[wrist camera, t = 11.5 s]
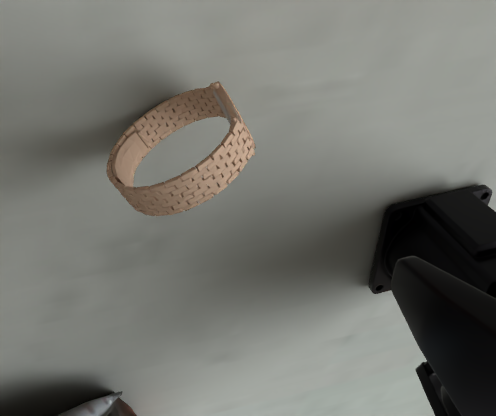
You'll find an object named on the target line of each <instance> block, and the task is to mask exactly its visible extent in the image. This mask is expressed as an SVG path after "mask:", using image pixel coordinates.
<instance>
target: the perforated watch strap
mask: <svg viewBox="0 0 496 416" xmlns="http://www.w3.org/2000/svg"><path fill="white" fill-rule="evenodd" d="M168 102H169V103H170V104H169V103H168ZM164 108H165V109H164ZM156 109H157V110H156ZM173 109H174V110H175V111H174V110H173ZM165 110H166V111H165ZM218 115H219V116H220V117H224V118H227V120H228V121H229V123H230V129H229V133H227V135H226V136H225V138H224V139H223V140H222V142H221V145H220V144H219V145H218V147H217V148H216V149H215V150H214V151H213V152H212V153H211V154H210V155H209V156H208V157H206V158H205V159H204V160H202V161H201V162H200V163H199V164H197V165H196V166H195V167H196V168H197V169H196V168H195V167H192V168H191V169H189V170H187V171H186V172H184V173H182V174H181V177H180V175H179V176H177V177H174V178H172V179H170V180H167V181H165V183H164V182H162V183H159V184H155V185H152V186H144V187H137V188H136V187H133V181H134V174H135V171H136V168H137V167H138V165H139V164H140V162H141V161H142V158H144V157H145V156H146V155H147V154H148V152H149V151H150V150H151V149H152V148H153V147H155V146H156V145H157V144H158V143H159V142H160V139H161V140H163V139H164V138H166V137H167V136H168V135H170V134H171V133H173V132H175V131H176V130H178V129H180V128H182V127H183V125H184V126H186V125H188V124H190V123H193V122H195V120H196V121H198V120H201V119H204V118H207V117H208V118H209V117H217V116H218ZM152 116H153V117H152ZM169 116H170V117H171V118H170V117H169ZM144 117H145V118H146V119H145V118H144ZM178 117H179V118H178ZM165 123H166V124H167V125H166V124H165ZM174 123H175V125H174ZM149 124H150V125H151V126H150V125H149ZM133 125H134V126H133ZM133 125H131V126H130V127H129V128H128V129H127V130H126V131H125V132H124V133H123V135H121V137H120V138H119V140H118V141H117V143H116V144H115V146H114V147H113V149H112V151H111V153H110V156H109V160H108V163H107V176H108V178H109V180H111V182H112V183H113V185H114V186H115V187H116V188H117V189H118V190H119V191H120V193H121V194H122V196H123V197H124V198H126V200H127V201H128V202H129V204H130V205H132V206H133V207H134V208H135V210H137V211H139V212H142V213H144V214H146V215H151V216H155V215H156V216H163V215H172V214H176V213H180V212H183V210H185V211H187V210H189V209H191V208H193V207H195V206H197V205H199V204H201V203H203V202H205V201H207V200H209V199H211V198H213V194H215V195H217V194H218V193H219V192H221V191H222V190H223V189H225V188H226V187H227V184H226V183H228V184H230V183H231V182H232V181H233V180H234V179H235V178H236V177H237V176H238V175H239V173H238V172H241V171H242V169H243V168H244V166H245V165H246V163H247V162H248V161H247V160H249V159H250V157H251V156H254V155H255V153H254V148H256V147H255V143H254V141H253V138H252V136H251V134H250V132H249V130H248V129H247V127H246V125H245V123H244V121H243V119H242V117H241V116H240V114H239V112H238V110H237V109H236V107H235V105H234V103H233V102H232V100H231V98H230V97H229V95H228V93H227V92H226V90H225V89H224V87H223V86H222V85H221V84H220V82H219V81H218V82H215V83H212V84H210V86H209V87H206V88H200V89H195V90H191V91H187V92H184V93H182V94H181V95H179V94H178V95H176V96H174V97H172V98H170V99H168V101H167V100H166V101H164V102H162V103H161V104H159V105H157V106H156V108H155V107H154V108H153V109H151V110H150V111H148V112H147V113H146V114H144V116H142V117H140V118H139V119H138V120H137V121H135V122H134V123H133ZM170 130H171V131H172V132H171V131H170ZM154 131H155V132H156V133H155V132H154ZM146 132H147V133H148V134H147V133H146ZM159 138H160V139H159ZM151 139H152V140H153V141H152V140H151ZM150 148H151V149H150ZM206 166H207V168H206ZM211 175H212V176H213V177H212V176H211ZM221 175H222V176H221ZM201 176H203V178H202V177H201ZM207 184H208V186H207ZM217 184H218V185H217ZM186 185H187V186H188V187H187V186H186ZM197 185H198V186H197ZM192 193H193V194H194V195H193V194H192ZM203 193H204V195H203ZM198 202H199V203H198Z"/></svg>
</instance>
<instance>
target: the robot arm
mask: <svg viewBox="0 0 496 416" xmlns="http://www.w3.org/2000/svg"><path fill="white" fill-rule="evenodd" d="M491 196H492V190H491V189H490V188H489V187H487V186H486V185H479V186H475V187H470V188H466V189H461V190H457V191H452V192H447V193H443V194H438V195H434V196H429V197H425V198H420V199H415V200H411V201H406V202H402V203H397V204H393V205H391V206H389V207H388V208H387V209H386V211H385V213H384V217H383V222H382V226H381V231H380V235H379V240H378V244H377V249H376V253H375V258H374V262H373V267H372V272H371V276H370V281H369V288H370V290H371V291H372V292H373V293H374V294H378V293H382V292H385V291H389V290H392V292H393V295H394V297H395V299H396V301H397V303H398V305H399V307H400V309H401V311H402V313H403V315H404V317H405V319H406V321H407V324H408V326H409V328H410V330H411V332H412V334H413V336H414V338H415V340H416V342H417V344H418V346H419V348H420V349H421V351H422V353H423V354H424V356H425V358H426V359H427V362H423V363H422V364H420V365H419V366H418V367H417V368H416V372H417V375H418V377H419V379H420V381H421V384H422V387H423V389H424V391H425V393H426V396H427V398H428V400H429V402H430V405H431V407H432V409H433V411H434V414H435V416H496V212H495V211H494V210H492V209H491V208H490V207H489V206H488V203H489V201H490V198H491Z"/></svg>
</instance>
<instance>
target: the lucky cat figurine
mask: <svg viewBox="0 0 496 416" xmlns="http://www.w3.org/2000/svg"><path fill="white" fill-rule="evenodd" d="M121 394H122V392H117V393H114V392H113V393H112V394H110V395H108V396H105V397H101V398H98V399H94V400H91V401H88V402H85V403H83V404H81V405H79V406H77V407H75V408H72V409H70V410H68V411H66V412H64V413H62V414H60V415H57V416H136V414H135V413H134V412H133V410H132V409H131V407H130V406H129V405H127V404H126V403H125V402H124V401H122V400H121V399H120V398H119V396H120V395H121Z"/></svg>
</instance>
